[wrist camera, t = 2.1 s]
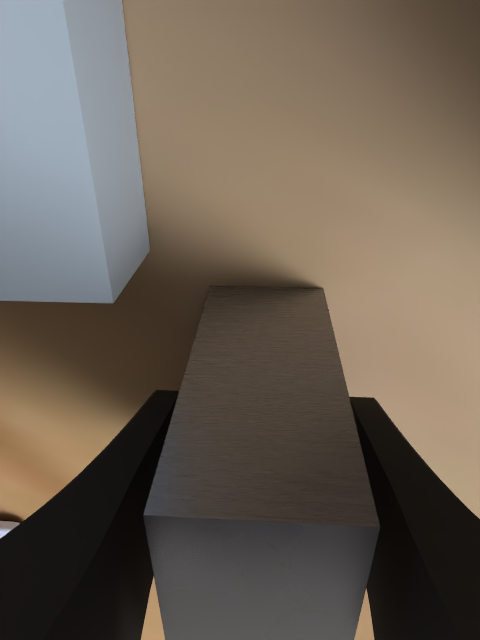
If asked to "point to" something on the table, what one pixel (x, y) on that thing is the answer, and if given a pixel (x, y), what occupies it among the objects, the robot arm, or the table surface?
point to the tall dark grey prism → (262, 479)
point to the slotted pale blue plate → (68, 153)
